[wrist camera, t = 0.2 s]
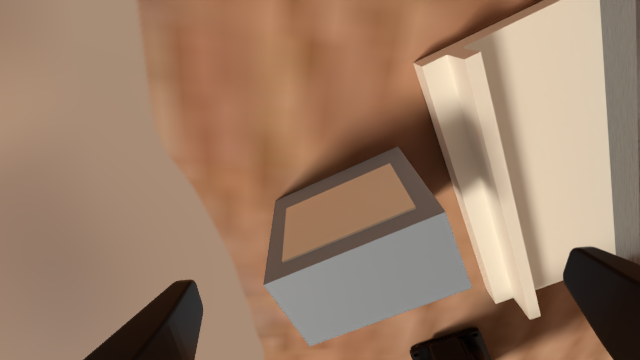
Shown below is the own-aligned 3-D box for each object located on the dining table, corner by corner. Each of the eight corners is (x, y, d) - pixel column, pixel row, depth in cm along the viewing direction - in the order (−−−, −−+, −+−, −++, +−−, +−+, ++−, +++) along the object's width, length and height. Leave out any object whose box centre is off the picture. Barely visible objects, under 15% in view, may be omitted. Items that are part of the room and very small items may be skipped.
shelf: (613, 244, 26) (657, 277, 23) (486, 289, 27) (511, 326, 24) (595, -25, 17) (661, -34, 14) (413, 62, 19) (435, 72, 16)
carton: (420, 204, 23) (472, 287, 16) (307, 251, 25) (309, 346, 18) (397, 144, 21) (444, 209, 14) (274, 198, 23) (261, 283, 16)
